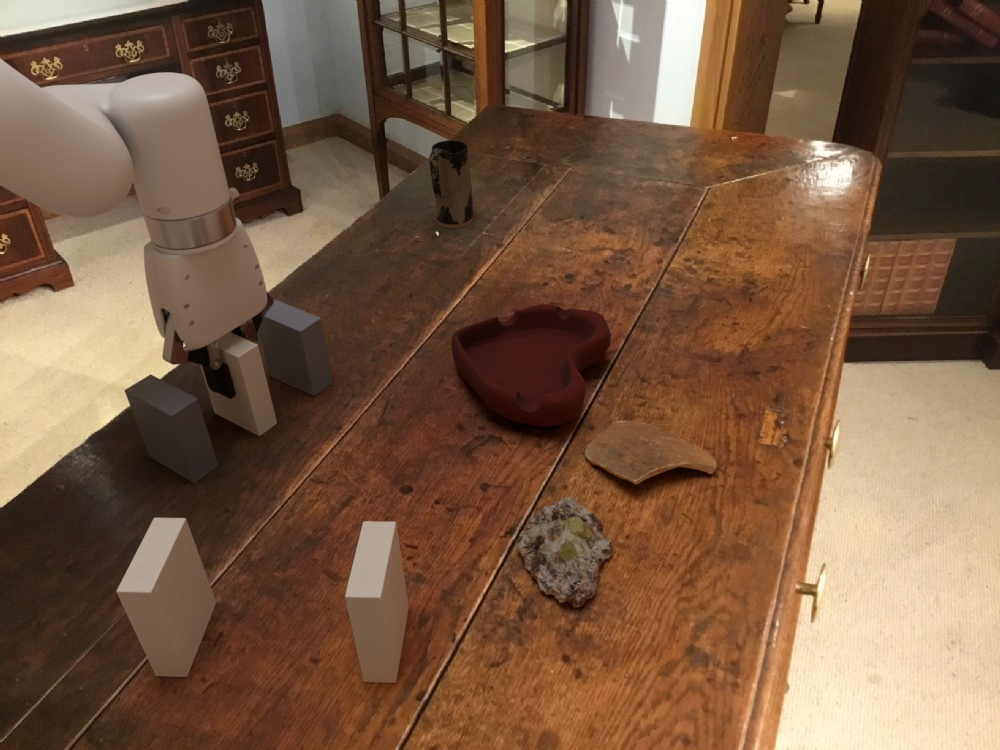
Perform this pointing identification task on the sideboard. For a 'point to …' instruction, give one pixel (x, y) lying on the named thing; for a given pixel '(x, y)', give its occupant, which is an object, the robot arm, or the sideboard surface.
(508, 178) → the sideboard surface
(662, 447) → the pottery shard
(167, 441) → the grey books
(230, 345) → the white book
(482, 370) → the ashtray
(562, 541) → the mineral rock
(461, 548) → the sideboard surface
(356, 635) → the white books
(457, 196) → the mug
